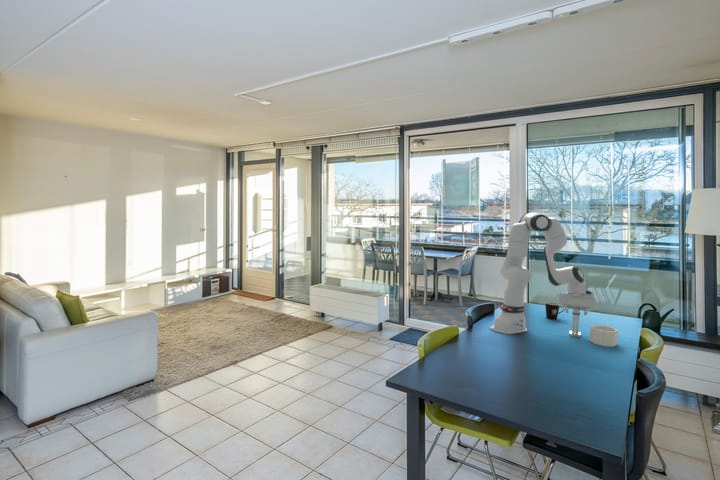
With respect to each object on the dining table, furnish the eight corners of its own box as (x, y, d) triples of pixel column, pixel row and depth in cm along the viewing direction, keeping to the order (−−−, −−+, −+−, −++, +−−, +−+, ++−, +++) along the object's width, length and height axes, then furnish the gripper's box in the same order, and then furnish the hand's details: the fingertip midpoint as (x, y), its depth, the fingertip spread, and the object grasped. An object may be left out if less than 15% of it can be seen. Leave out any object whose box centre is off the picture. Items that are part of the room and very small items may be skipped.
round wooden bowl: (610, 348, 206) (611, 333, 206) (586, 341, 216) (587, 327, 215) (620, 343, 214) (621, 329, 213) (596, 337, 223) (597, 323, 223)
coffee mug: (544, 318, 261) (545, 304, 260) (544, 315, 268) (545, 301, 267) (563, 321, 255) (564, 306, 254) (564, 318, 263) (564, 303, 262)
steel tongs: (569, 335, 226) (570, 308, 224) (569, 333, 231) (571, 306, 229) (580, 337, 223) (582, 309, 222) (580, 334, 228) (582, 307, 227)
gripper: (557, 289, 239) (556, 308, 231) (596, 292, 230) (596, 313, 222) (557, 294, 244) (556, 314, 236) (595, 298, 234) (595, 318, 226)
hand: (576, 313), depth 229 cm, fingers open, 8 cm apart
